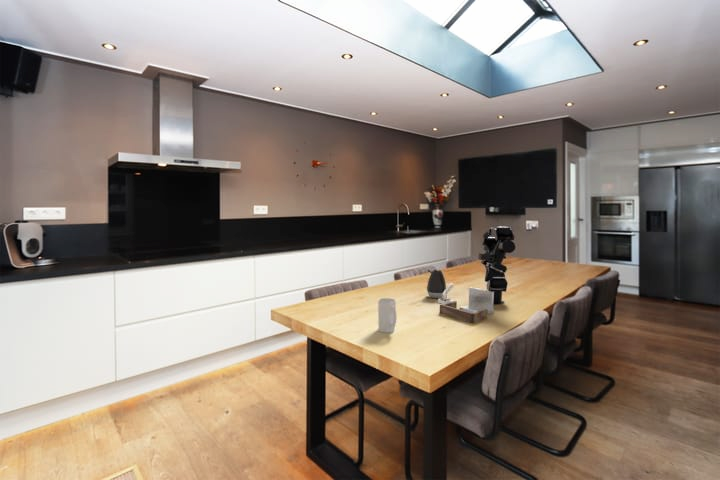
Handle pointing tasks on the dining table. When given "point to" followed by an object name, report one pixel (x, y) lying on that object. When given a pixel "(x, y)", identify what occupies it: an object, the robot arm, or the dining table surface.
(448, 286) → the hook
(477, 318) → the bay
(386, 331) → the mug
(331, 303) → the dining table surface
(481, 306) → the bracket
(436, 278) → the pump dispenser
